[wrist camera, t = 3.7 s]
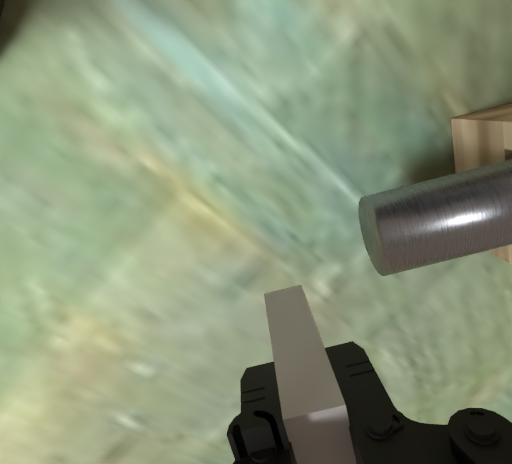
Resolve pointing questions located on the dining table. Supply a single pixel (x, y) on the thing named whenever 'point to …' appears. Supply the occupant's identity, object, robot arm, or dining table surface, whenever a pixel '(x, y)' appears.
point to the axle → (438, 218)
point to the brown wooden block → (484, 146)
